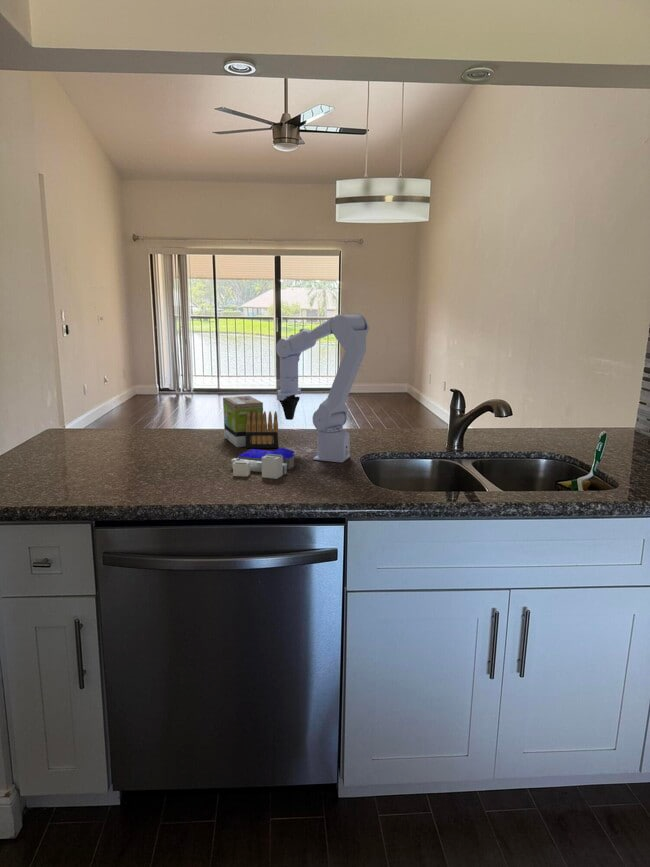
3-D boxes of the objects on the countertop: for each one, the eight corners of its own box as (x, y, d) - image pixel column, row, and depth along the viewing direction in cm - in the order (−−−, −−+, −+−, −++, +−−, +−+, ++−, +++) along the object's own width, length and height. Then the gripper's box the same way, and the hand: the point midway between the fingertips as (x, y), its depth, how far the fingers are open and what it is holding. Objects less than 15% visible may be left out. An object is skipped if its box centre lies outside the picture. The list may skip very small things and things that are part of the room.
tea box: (223, 438, 205) (222, 396, 201) (250, 435, 209) (250, 395, 206) (235, 447, 191) (234, 403, 188) (264, 444, 195) (264, 401, 192)
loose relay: (250, 473, 162) (249, 460, 161) (247, 476, 159) (247, 463, 158) (236, 473, 162) (235, 460, 162) (233, 476, 160) (232, 463, 159)
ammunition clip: (245, 447, 190) (245, 410, 189) (246, 447, 191) (246, 411, 191) (278, 447, 190) (278, 411, 190) (278, 447, 192) (278, 411, 192)
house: (285, 473, 163) (284, 455, 162) (237, 468, 168) (236, 450, 167) (299, 463, 173) (299, 446, 172) (253, 459, 178) (253, 442, 177)
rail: (287, 473, 163) (286, 462, 162) (284, 474, 161) (284, 464, 160) (234, 467, 168) (234, 457, 168) (231, 468, 166) (231, 459, 166)
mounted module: (282, 474, 161) (282, 454, 159) (276, 478, 157) (276, 458, 156) (268, 473, 162) (268, 453, 161) (261, 477, 158) (261, 456, 157)
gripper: (286, 374, 192) (287, 414, 195) (267, 379, 179) (268, 422, 182) (306, 375, 190) (306, 416, 193) (288, 380, 177) (288, 424, 180)
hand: (289, 419), depth 187 cm, fingers closed
